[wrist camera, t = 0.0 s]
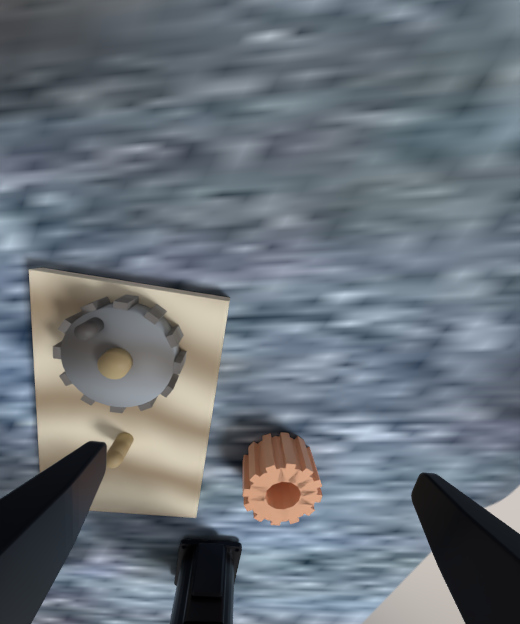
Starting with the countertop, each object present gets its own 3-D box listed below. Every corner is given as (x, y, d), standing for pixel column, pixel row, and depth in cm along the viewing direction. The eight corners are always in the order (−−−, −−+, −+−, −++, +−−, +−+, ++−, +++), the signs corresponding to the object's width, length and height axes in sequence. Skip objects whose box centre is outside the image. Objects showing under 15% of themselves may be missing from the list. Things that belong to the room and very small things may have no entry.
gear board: (198, 505, 27) (188, 561, 22) (50, 495, 25) (8, 552, 21) (230, 297, 21) (226, 315, 17) (41, 267, 20) (-21, 277, 15)
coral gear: (303, 490, 27) (312, 527, 24) (237, 485, 27) (237, 522, 23) (319, 436, 26) (331, 467, 22) (249, 428, 25) (250, 460, 21)
